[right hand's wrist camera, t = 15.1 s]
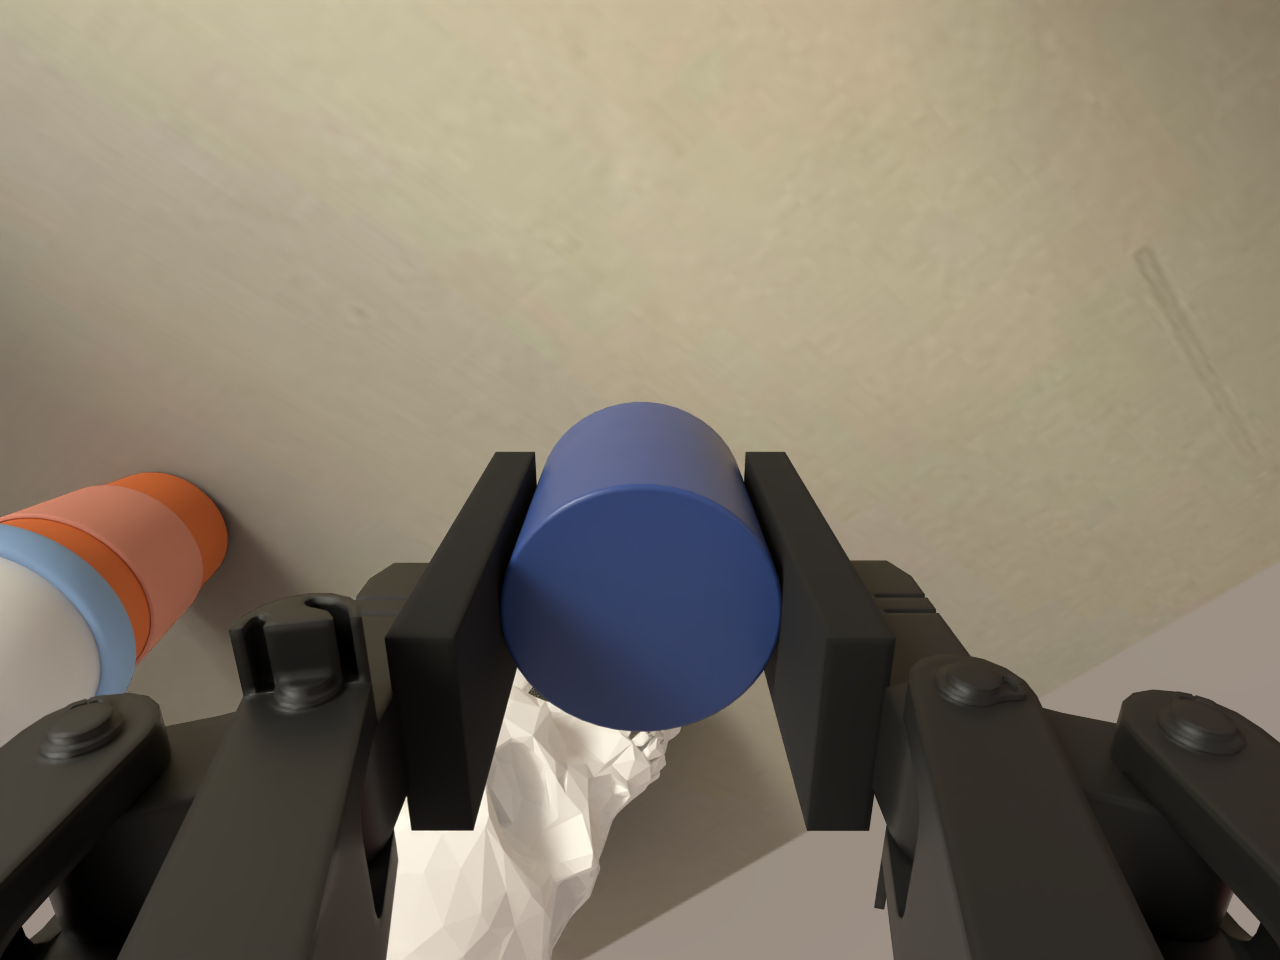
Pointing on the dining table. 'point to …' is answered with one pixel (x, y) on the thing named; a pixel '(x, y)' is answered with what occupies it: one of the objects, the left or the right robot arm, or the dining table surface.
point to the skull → (520, 838)
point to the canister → (641, 574)
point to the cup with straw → (97, 588)
